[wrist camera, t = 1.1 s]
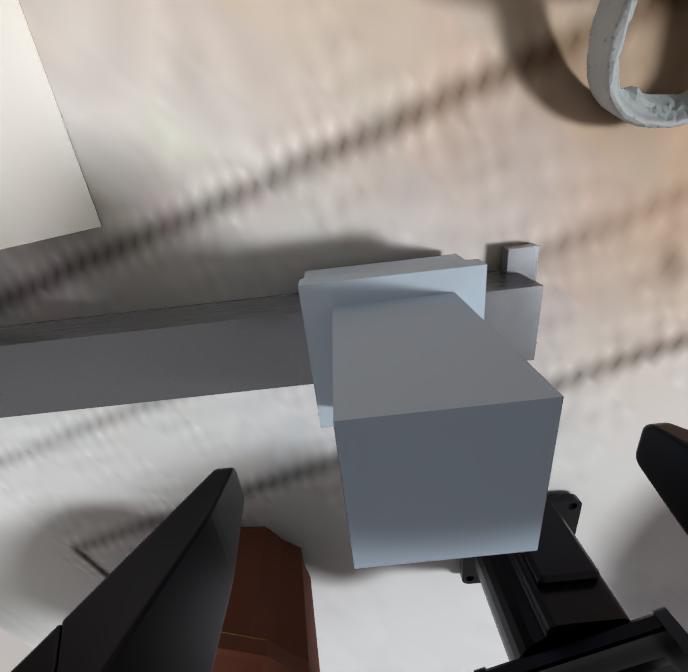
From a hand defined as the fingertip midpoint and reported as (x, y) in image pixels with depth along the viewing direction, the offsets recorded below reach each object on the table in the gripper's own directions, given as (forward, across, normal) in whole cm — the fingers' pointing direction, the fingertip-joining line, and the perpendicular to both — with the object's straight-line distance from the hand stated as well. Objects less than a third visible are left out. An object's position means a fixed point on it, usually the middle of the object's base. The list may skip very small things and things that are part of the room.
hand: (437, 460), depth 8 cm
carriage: (+8, 0, 0) cm, 9 cm away
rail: (+8, +7, 0) cm, 11 cm away
